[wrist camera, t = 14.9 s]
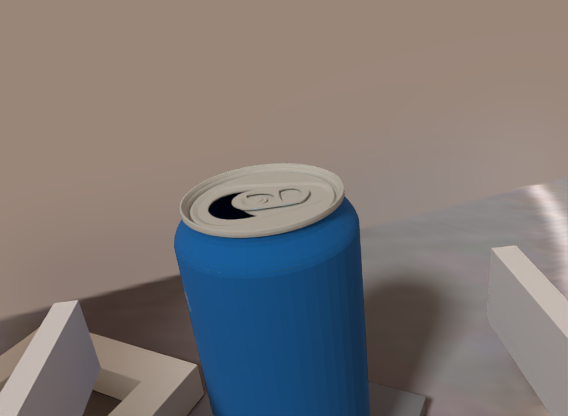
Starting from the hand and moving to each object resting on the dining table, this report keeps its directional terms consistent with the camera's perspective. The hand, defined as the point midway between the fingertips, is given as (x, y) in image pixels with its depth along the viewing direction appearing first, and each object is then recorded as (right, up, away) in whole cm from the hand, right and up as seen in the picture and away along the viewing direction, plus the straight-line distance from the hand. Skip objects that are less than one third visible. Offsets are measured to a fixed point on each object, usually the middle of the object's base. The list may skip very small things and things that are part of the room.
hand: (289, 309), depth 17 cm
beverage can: (0, -7, +6) cm, 9 cm away
